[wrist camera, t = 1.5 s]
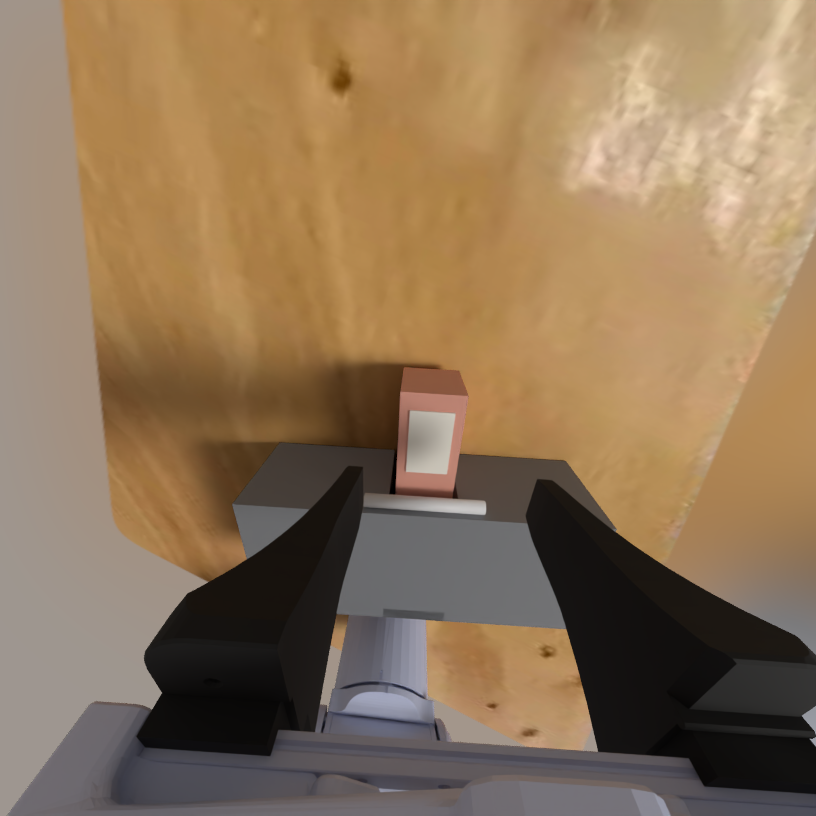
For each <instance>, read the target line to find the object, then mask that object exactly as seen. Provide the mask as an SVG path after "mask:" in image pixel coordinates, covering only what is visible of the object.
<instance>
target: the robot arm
mask: <svg viewBox="0 0 816 816" xmlns="http://www.w3.org/2000/svg"><path fill="white" fill-rule="evenodd" d="M362 510H363V467H360V466H348V467H346V468H345V470H344V471H343V472H342V474H341V475H340V476H339V477H338V479H337V480H336V481H335V482H334V484H333V485H332V486H331V487H330V488H329V489H328V490H327V492H326V493H325V494H324V495H323V496H322V497H321V498H320V499H319V500H318V501H317V502H316V503H315V504H314V505H313V506H312V507H311V508H310V509H309V510H308V511H307V512H306V513H305V514H304V515H303V516H302V517H301V518H300V519H299V520H298V521H297V522H296V523H295V524H293V525H292V526H291V527H290V528H289V529H288V530H286V531H285V532H284V533H283V534H281V535H280V536H279V537H278V538H276V539H275V540H274V541H272V542H271V543H270V544H268V545H267V546H266V547H264V548H263V549H262V550H260V551H259V552H257V553H256V554H254V555H253V556H251V557H250V558H248V559H247V560H245V561H244V562H242V563H241V564H239V565H238V566H236V567H234V568H233V569H231V570H229V571H228V572H226V573H224V574H223V575H221V576H219V577H217V578H215V579H214V580H212V581H210V582H208V583H206V584H205V585H203V586H201V587H199V588H197V589H196V590H194V591H192V592H190V593H188V594H187V595H186V596H185V597H184V599H183V600H182V601H181V602H180V604H179V605H178V606H177V607H176V608H175V610H174V611H173V612H172V614H171V615H170V616H169V618H168V619H167V621H166V622H165V624H164V625H163V626H162V628H161V629H160V631H159V632H158V634H157V635H156V636H155V638H154V639H153V641H152V642H151V644H150V645H149V647H148V648H147V649H146V651H145V655H144V661H145V664H146V667H147V670H148V671H149V673H150V674H151V676H152V678H153V679H154V681H155V682H156V684H157V685H158V687H159V689H160V690H161V692H162V694H161V696H160V698H159V699H158V701H157V703H156V704H155V706H154V708H153V709H152V710H151V709H150V708H148V707H145V706H143V705H137V704H127V703H111V702H98V701H96V702H94V703H91V704H90V705H89V706H88V707H87V709H86V710H85V711H84V713H83V714H82V715H81V717H80V718H79V719H78V721H77V722H76V723H75V725H74V726H73V728H72V729H71V730H70V731H69V733H68V734H67V735H66V737H65V738H64V739H63V741H62V742H61V743H60V745H59V746H58V747H57V749H56V750H55V751H54V753H53V754H52V756H51V757H50V758H49V760H48V761H47V762H46V764H45V765H44V766H43V768H42V769H41V770H40V772H39V773H38V774H37V776H36V777H35V779H34V780H33V781H32V782H31V784H30V785H29V786H28V788H27V789H26V790H25V792H24V793H23V795H22V796H21V797H20V798H19V800H18V801H17V803H16V804H15V805H14V807H13V808H12V809H11V811H10V812H9V813H8V815H7V816H816V746H815V745H814V744H813V743H812V742H811V740H810V739H813V738H815V737H816V734H815V731H814V730H813V729H812V728H811V727H810V725H809V724H808V723H807V722H806V721H805V720H804V719H803V717H802V715H803V714H804V713H806V712H807V711H809V710H810V709H812V708H813V707H815V706H816V655H815V654H814V653H813V652H812V651H811V650H810V649H809V648H808V647H807V646H806V645H805V644H804V643H803V642H802V641H801V640H800V639H799V638H798V637H797V636H795V635H793V634H791V633H789V632H787V631H785V630H783V629H781V628H778V627H777V626H775V625H772V624H770V623H768V622H766V621H764V620H762V619H760V618H758V617H756V616H754V615H752V614H750V613H747V612H745V611H744V610H742V609H739V608H738V607H736V606H734V605H732V604H730V603H728V602H726V601H724V600H723V599H721V598H719V597H717V596H715V595H713V594H711V593H710V592H708V591H706V590H704V589H702V588H700V587H699V586H697V585H695V584H693V583H692V582H690V581H689V580H687V579H685V578H684V577H682V576H680V575H679V574H677V573H675V572H673V571H672V570H670V569H668V568H667V567H665V566H664V565H662V564H661V563H659V562H658V561H656V560H654V559H653V558H652V557H650V556H649V555H647V554H646V553H644V552H643V551H641V550H640V549H638V548H637V547H635V546H634V545H632V544H631V543H630V542H628V541H627V540H626V539H624V538H623V537H622V536H620V535H619V534H618V533H616V532H615V531H614V530H612V529H611V528H610V527H608V526H607V525H606V524H605V523H603V522H602V521H601V520H600V519H598V518H597V517H596V516H595V515H594V514H592V513H591V512H590V511H589V510H587V509H586V508H585V507H584V506H583V505H582V504H580V503H579V502H578V501H577V500H576V499H574V498H573V497H572V496H571V495H570V494H569V493H567V492H566V491H565V490H564V489H563V488H561V487H560V486H559V485H558V484H557V483H555V482H554V481H553V480H546V479H537V481H536V484H535V487H534V490H533V493H532V496H531V499H530V503H529V506H528V509H527V512H526V515H525V516H526V520H527V524H528V528H529V532H530V535H531V538H532V541H533V544H534V546H535V549H536V551H537V554H538V556H539V558H540V561H541V563H542V566H543V568H544V570H545V573H546V575H547V577H548V580H549V582H550V585H551V587H552V589H553V592H554V594H555V597H556V599H557V602H558V605H559V607H560V610H561V613H562V617H563V620H564V623H565V626H566V629H567V632H568V636H569V639H570V643H571V646H572V649H573V653H574V656H575V660H576V663H577V667H578V671H579V674H580V678H581V682H582V686H583V690H584V694H585V697H586V701H587V705H588V709H589V714H590V718H591V722H592V727H593V731H594V735H595V740H596V744H597V748H598V752H591V751H578V750H563V749H549V748H535V747H520V746H504V745H491V744H476V743H463V742H452V740H451V737H450V735H449V733H448V731H447V730H446V727H445V725H444V723H443V722H442V720H441V719H437V718H434V701H432V700H428V693H427V648H426V620H420V619H405V618H390V617H375V616H360V615H349V617H348V622H347V627H346V632H345V638H344V643H343V648H342V653H341V658H340V663H339V668H338V673H337V678H336V684H335V688H334V689H333V690H332V694H331V699H330V703H329V708H328V712H327V705H320V700H321V694H322V688H323V683H324V677H325V672H326V666H327V661H328V655H329V650H330V645H331V639H332V634H333V629H334V624H335V619H336V614H337V609H338V604H339V599H340V594H341V590H342V586H343V582H344V578H345V575H346V571H347V568H348V564H349V561H350V558H351V554H352V551H353V548H354V544H355V541H356V537H357V534H358V530H359V526H360V521H361V515H362Z"/></svg>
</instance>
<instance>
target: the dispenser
mask: <svg viewBox="0 0 816 816" xmlns="http://www.w3.org/2000/svg"><path fill="white" fill-rule="evenodd" d="M394 452H395V450H387V449H372V448H356V447H341V446H325V445H310V444H295V443H279V444H278V445H277V447H276V448H275V449H274V451H273V452H272V453H271V455H270V456H269V457H268V458H267V460H266V461H265V462H264V464H263V465H262V466H261V467H260V469H259V470H258V471H257V473H256V474H255V475H254V477H253V478H252V479H251V480H250V482H249V483H248V484H247V486H246V487H245V488H244V490H243V491H242V492H241V493H240V495H239V496H238V497H237V499H236V500H235V501H234V502H233V504H232V506H233V509H234V513H235V517H236V520H237V524H238V528H239V531H240V535H241V539H242V543H243V546H244V550H245V554H246V557H247V559H248V558H250V557H251V556H253V555H254V554H256V553H257V552H259V551H260V550H262V549H263V548H264V547H266V546H267V545H268V544H270V543H271V542H272V541H274V540H275V539H276V538H278V537H279V536H280V535H281V534H283V533H284V532H285V531H286V530H288V529H289V528H290V527H291V526H292V525H293V524H295V523H296V522H297V521H298V520H299V519H300V518H301V517H302V516H303V515H304V514H305V513H306V512H307V511H308V510H309V509H310V508H311V507H312V506H313V505H314V504H315V503H316V502H317V501H318V500H319V499H320V498H321V497H322V496H323V495H324V494H325V493H326V492H327V490H328V489H329V488H330V487H331V486H332V485H333V484H334V482H335V481H336V480H337V479H338V477H339V476H340V475H341V474H342V472H343V471H344V470H345V468H346V467H348V466H360V467H363V510H362V515H361V521H360V526H359V530H358V534H357V537H356V541H355V544H354V548H353V551H352V554H351V558H350V561H349V564H348V568H347V571H346V575H345V578H344V582H343V586H342V590H341V594H340V599H339V604H338V609H337V614H344V615H360V616H375V617H390V618H405V619H420V620H435V621H450V622H466V623H481V624H496V625H511V626H526V627H541V628H556V629H566V626H565V623H564V620H563V617H562V613H561V610H560V607H559V605H558V602H557V599H556V597H555V594H554V592H553V589H552V587H551V585H550V582H549V580H548V577H547V575H546V573H545V570H544V568H543V566H542V563H541V561H540V558H539V556H538V554H537V551H536V549H535V546H534V544H533V541H532V538H531V535H530V532H529V528H528V524H527V520H526V516H525V515H526V512H527V509H528V506H529V503H530V499H531V496H532V493H533V490H534V487H535V484H536V481H537V479H546V480H553V481H554V482H555V483H557V484H558V485H559V486H560V487H561V488H563V489H564V490H565V491H566V492H567V493H569V494H570V495H571V496H572V497H573V498H574V499H576V500H577V501H578V502H579V503H580V504H582V505H583V506H584V507H585V508H586V509H587V510H589V511H590V512H591V513H592V514H594V515H595V516H596V517H597V518H598V519H600V520H601V521H602V522H603V523H605V524H606V525H607V526H608V527H610V528H611V529H612V530H614V531H615V532H616V530H617V529H616V528H615V526H614V525H613V524H612V522H611V521H610V520H609V518H608V517H607V516H606V514H605V513H604V512H603V510H602V509H601V508H600V506H599V505H598V504H597V502H596V501H595V500H594V498H593V497H592V496H591V494H590V493H589V492H588V490H587V489H586V488H585V486H584V485H583V484H582V482H581V481H580V479H579V478H578V477H577V475H576V474H575V473H574V471H573V470H572V469H571V467H570V466H569V465H568V463H567V462H566V461H557V460H542V459H527V458H511V457H496V456H480V455H465V454H459V459H458V466H457V472H456V478H455V484H454V491H453V497H452V498H437V497H422V496H406V495H393V475H394Z"/></svg>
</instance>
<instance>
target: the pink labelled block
mask: <svg viewBox="0 0 816 816" xmlns="http://www.w3.org/2000/svg"><path fill="white" fill-rule="evenodd" d="M468 397H469V396H468V393H467V391H466V388H465V385H464V383H463V380H462V377H461V375H460V372H459V371H456V370H440V369H425V368H409V367H404V370H403V377H402V384H401V392H400V412H399V432H398V452H397V472H396V493H395V495H406V496H422V497H437V498H452V497H453V491H454V484H455V478H456V472H457V466H458V459H459V453H460V447H461V441H462V434H463V428H464V422H465V416H466V409H467V403H468Z"/></svg>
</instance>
